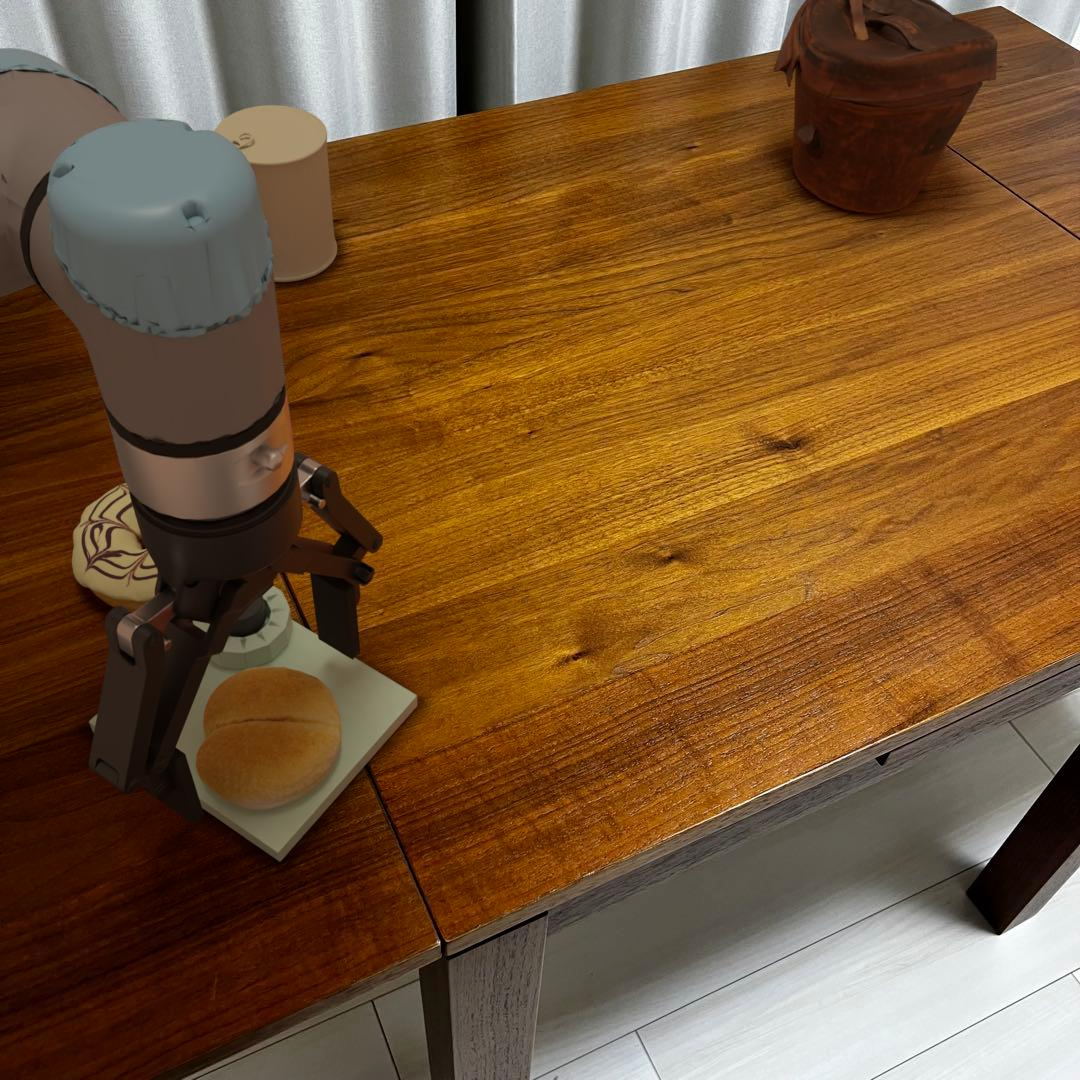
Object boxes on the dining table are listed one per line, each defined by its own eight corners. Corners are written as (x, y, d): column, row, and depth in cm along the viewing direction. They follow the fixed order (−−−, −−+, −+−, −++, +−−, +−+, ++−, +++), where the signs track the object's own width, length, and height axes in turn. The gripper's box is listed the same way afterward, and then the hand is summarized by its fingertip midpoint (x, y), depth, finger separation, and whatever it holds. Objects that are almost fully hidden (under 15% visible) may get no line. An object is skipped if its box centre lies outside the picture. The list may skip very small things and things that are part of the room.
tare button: (208, 622, 76) (204, 605, 74) (241, 592, 77) (237, 575, 76) (244, 644, 75) (240, 627, 73) (276, 613, 76) (273, 596, 75)
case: (785, 111, 128) (824, -62, 114) (969, 164, 123) (1033, -11, 109) (728, 191, 117) (765, 10, 104) (927, 253, 112) (993, 71, 99)
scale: (92, 732, 73) (81, 705, 71) (244, 593, 81) (238, 564, 78) (280, 862, 68) (274, 837, 66) (422, 701, 76) (421, 674, 74)
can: (211, 245, 106) (190, 121, 97) (298, 210, 111) (285, 87, 102) (270, 296, 102) (253, 171, 93) (358, 257, 106) (350, 134, 97)
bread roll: (191, 816, 68) (179, 781, 65) (214, 686, 74) (204, 648, 71) (336, 816, 69) (331, 781, 66) (348, 687, 75) (344, 649, 72)
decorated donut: (55, 612, 79) (40, 576, 76) (114, 495, 86) (102, 458, 83) (210, 633, 78) (201, 597, 75) (256, 514, 85) (249, 477, 83)
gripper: (55, 697, 46) (156, 926, 61) (443, 357, 60) (442, 614, 76) (-76, 605, 48) (53, 849, 64) (326, 300, 62) (350, 561, 78)
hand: (264, 722), depth 70 cm, fingers open, 13 cm apart
